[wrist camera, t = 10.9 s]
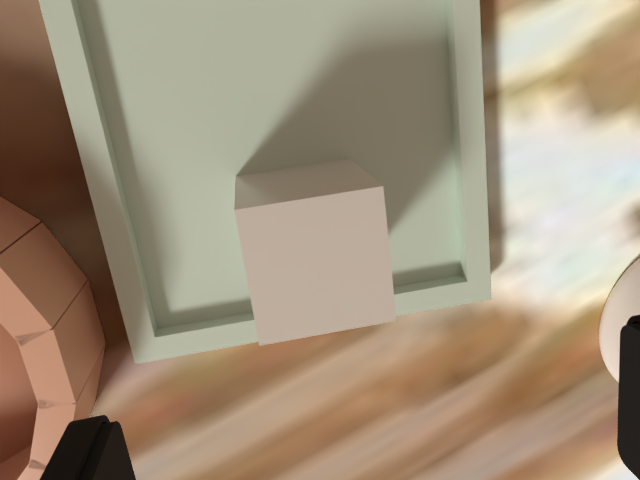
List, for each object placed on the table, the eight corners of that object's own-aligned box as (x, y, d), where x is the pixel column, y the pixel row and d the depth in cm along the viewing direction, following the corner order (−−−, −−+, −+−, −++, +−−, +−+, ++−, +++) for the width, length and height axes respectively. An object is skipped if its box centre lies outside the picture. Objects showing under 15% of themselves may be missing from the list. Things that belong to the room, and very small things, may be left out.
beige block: (235, 176, 22) (234, 210, 16) (349, 158, 22) (383, 186, 17) (255, 283, 23) (259, 345, 18) (361, 264, 23) (396, 320, 18)
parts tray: (31, -72, 19) (16, -82, 18) (459, -120, 20) (474, -132, 19) (140, 348, 24) (135, 364, 22) (479, 287, 25) (491, 299, 24)
